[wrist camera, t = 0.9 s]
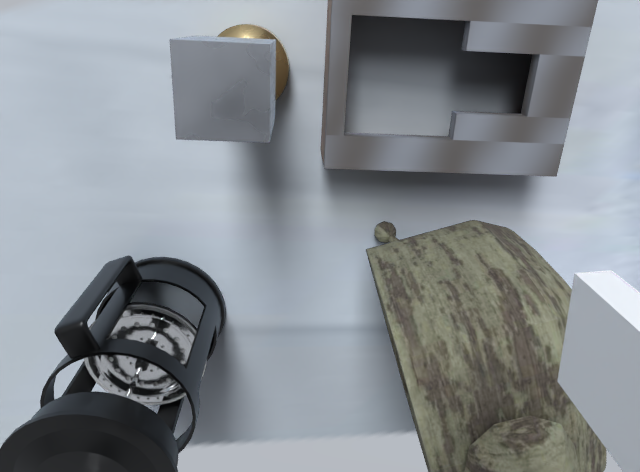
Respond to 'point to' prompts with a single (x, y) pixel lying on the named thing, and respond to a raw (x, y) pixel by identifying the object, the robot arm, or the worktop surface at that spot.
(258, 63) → the headed peg
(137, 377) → the french press
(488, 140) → the keyhole block
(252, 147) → the worktop surface
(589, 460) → the tabletop clock
